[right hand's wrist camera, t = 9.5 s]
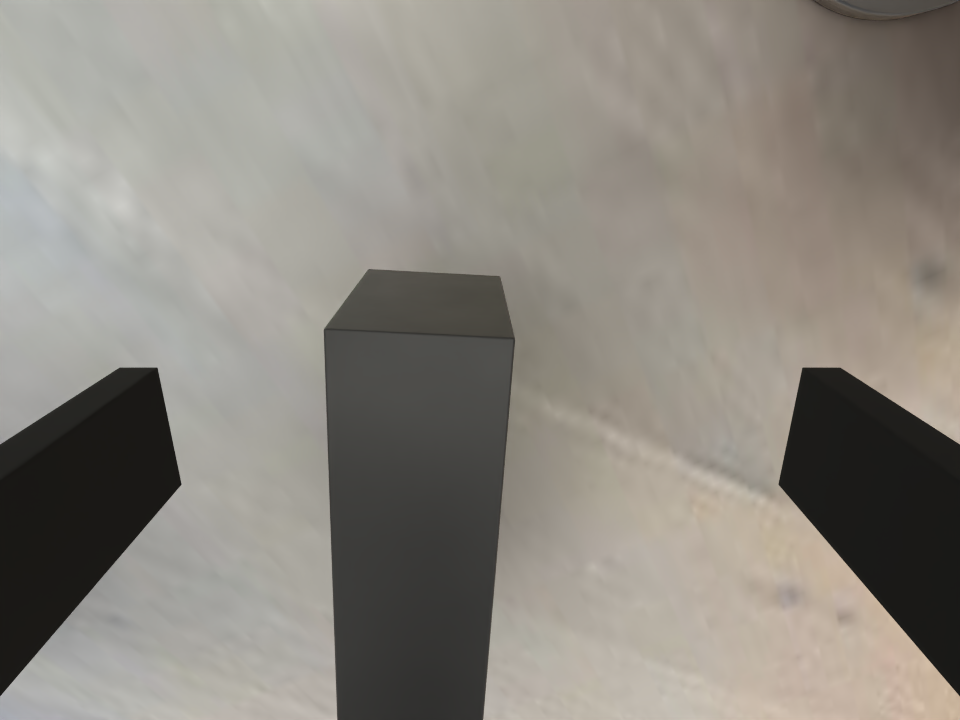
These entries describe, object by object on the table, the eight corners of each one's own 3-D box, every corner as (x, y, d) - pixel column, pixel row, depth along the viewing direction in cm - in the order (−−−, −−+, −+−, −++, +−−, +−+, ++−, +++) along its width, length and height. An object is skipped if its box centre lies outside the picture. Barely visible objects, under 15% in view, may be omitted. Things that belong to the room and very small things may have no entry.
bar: (368, 268, 25) (322, 328, 17) (500, 275, 25) (515, 338, 17) (371, 732, 34) (343, 905, 26) (467, 734, 34) (467, 907, 26)
